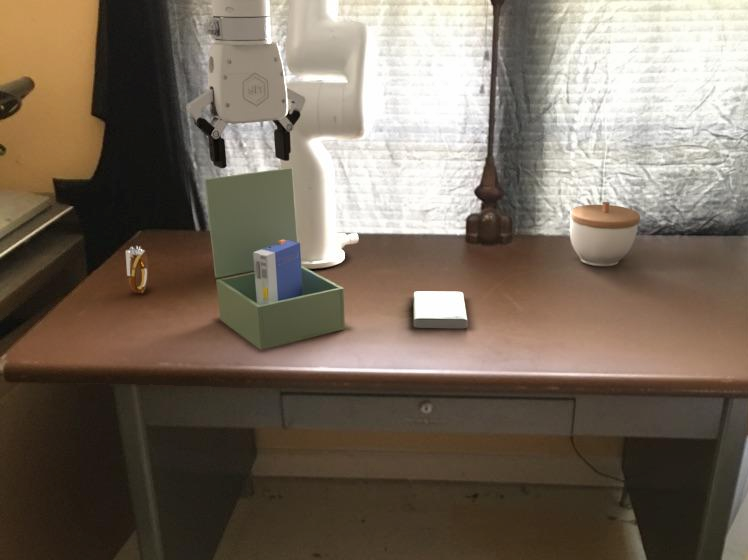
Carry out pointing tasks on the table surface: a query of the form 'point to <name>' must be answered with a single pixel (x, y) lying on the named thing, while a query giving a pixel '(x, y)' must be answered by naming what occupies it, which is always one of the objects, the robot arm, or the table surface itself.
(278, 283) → the walkman
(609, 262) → the lidded bowl
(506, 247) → the table surface
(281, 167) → the robot arm
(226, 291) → the chest
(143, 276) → the ring
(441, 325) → the hard drive
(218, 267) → the chest lid
